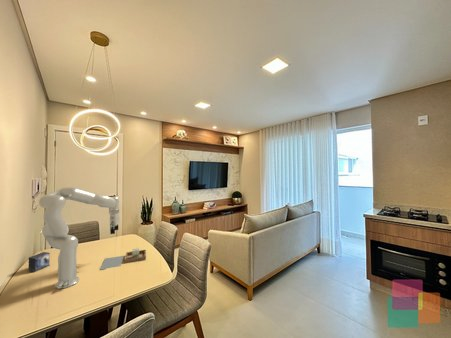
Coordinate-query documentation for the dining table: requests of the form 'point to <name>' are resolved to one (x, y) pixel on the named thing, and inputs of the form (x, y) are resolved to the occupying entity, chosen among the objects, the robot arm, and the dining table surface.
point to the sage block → (135, 253)
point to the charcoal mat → (112, 262)
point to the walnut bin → (129, 258)
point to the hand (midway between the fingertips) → (114, 231)
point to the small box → (38, 261)
